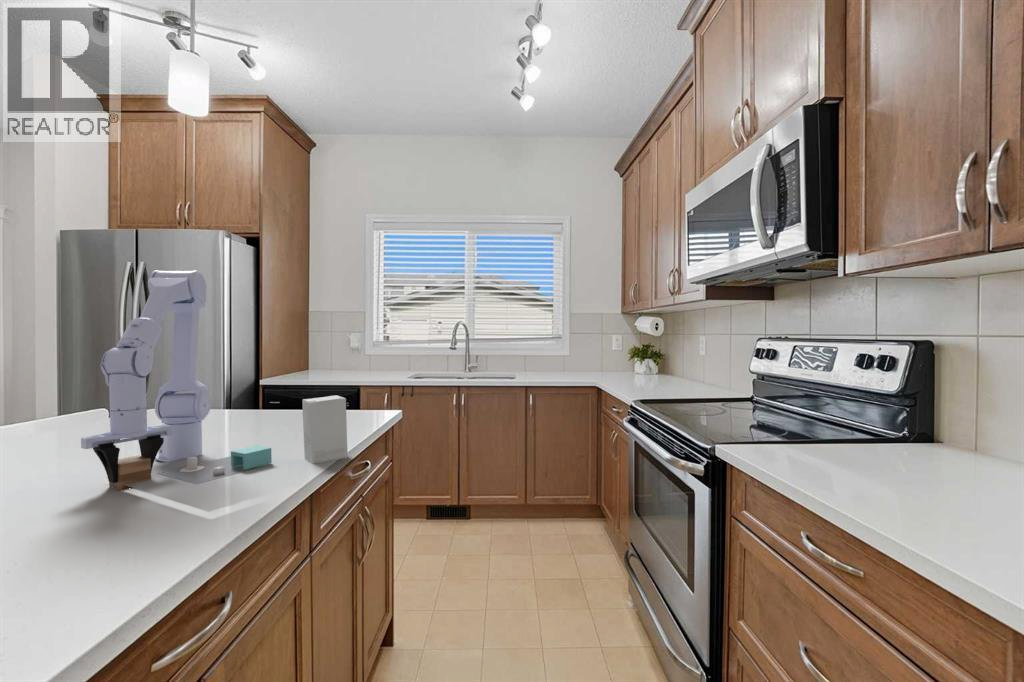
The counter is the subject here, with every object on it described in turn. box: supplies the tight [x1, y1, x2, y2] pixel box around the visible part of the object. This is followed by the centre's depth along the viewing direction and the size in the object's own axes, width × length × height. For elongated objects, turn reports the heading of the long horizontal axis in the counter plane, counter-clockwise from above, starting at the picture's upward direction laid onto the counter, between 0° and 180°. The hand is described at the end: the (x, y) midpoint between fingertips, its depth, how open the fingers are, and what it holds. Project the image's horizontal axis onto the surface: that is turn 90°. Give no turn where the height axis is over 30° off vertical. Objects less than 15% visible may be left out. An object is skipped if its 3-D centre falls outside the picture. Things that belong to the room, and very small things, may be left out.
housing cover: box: [230, 445, 273, 470], centre depth 108 cm, size 5×6×3 cm
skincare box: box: [302, 395, 349, 465], centre depth 114 cm, size 8×6×15 cm
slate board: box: [156, 455, 274, 485], centre depth 106 cm, size 15×16×4 cm
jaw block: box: [108, 455, 152, 491], centre depth 98 cm, size 5×5×5 cm
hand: (130, 478), depth 98 cm, fingers closed on jaw block, 5 cm apart
